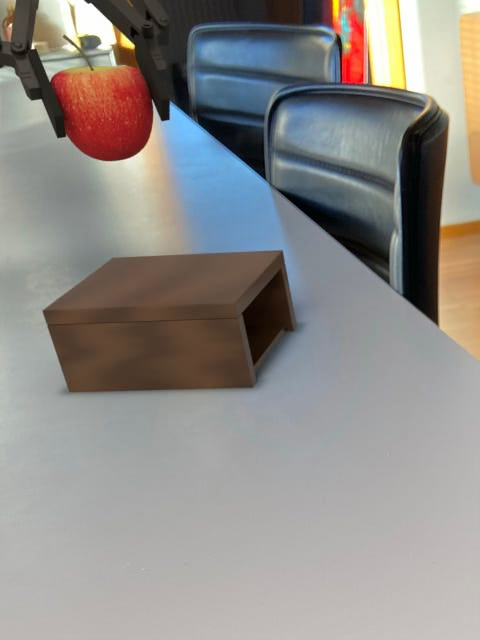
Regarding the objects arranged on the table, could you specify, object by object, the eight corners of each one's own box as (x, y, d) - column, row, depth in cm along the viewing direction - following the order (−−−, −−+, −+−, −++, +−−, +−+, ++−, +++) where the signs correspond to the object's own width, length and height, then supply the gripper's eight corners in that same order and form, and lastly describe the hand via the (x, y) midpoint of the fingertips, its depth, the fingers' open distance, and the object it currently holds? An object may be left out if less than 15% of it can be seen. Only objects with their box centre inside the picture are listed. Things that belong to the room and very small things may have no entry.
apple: (68, 157, 95) (32, 33, 89) (160, 144, 97) (131, 22, 91) (70, 174, 89) (32, 42, 83) (169, 159, 91) (138, 29, 85)
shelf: (69, 393, 85) (41, 310, 81) (133, 333, 96) (112, 257, 92) (253, 388, 83) (234, 303, 78) (297, 327, 94) (282, 249, 90)
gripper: (140, -78, 97) (228, 128, 95) (-97, -56, 90) (-7, 168, 88) (139, -152, 90) (233, 69, 88) (-118, -134, 83) (-21, 107, 81)
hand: (114, 118), depth 88 cm, fingers closed on apple, 8 cm apart
